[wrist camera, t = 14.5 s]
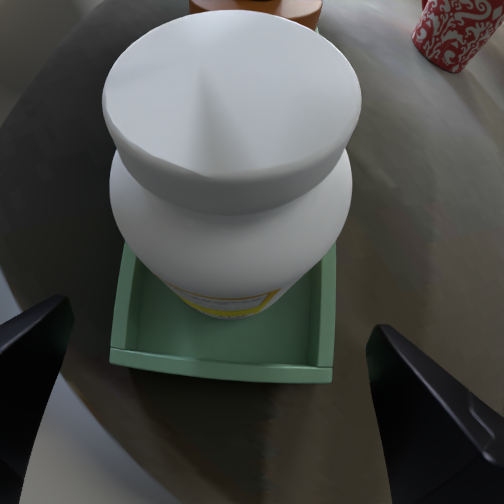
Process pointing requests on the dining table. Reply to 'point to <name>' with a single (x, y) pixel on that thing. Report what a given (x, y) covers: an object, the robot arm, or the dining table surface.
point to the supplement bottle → (231, 155)
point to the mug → (456, 30)
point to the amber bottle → (266, 8)
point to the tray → (226, 330)
